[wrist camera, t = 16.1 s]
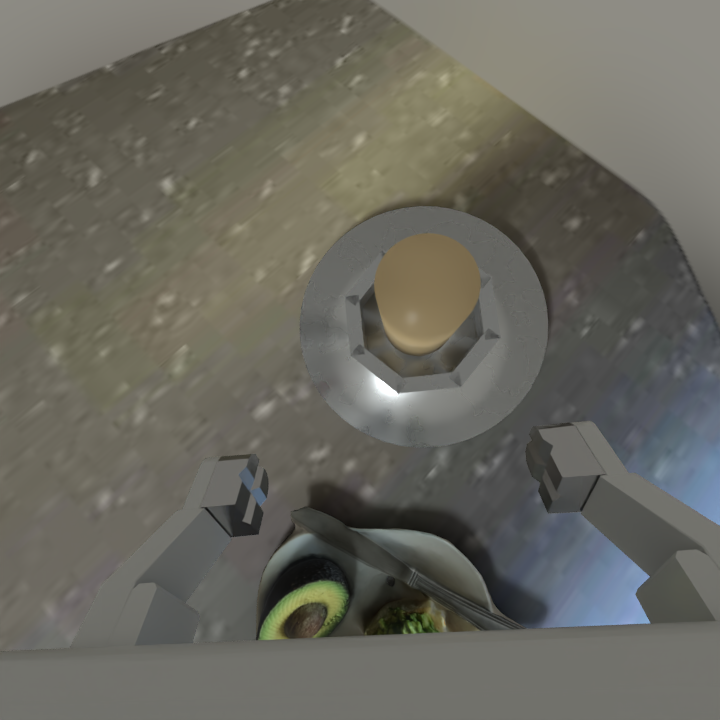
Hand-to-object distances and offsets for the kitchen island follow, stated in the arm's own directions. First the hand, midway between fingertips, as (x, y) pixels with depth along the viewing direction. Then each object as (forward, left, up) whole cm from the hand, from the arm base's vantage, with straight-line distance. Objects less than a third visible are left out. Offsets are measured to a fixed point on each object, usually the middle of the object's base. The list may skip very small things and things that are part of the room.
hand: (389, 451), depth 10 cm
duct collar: (-3, +6, -16) cm, 17 cm away
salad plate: (+8, -14, -16) cm, 23 cm away
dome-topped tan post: (-3, +6, -15) cm, 16 cm away
